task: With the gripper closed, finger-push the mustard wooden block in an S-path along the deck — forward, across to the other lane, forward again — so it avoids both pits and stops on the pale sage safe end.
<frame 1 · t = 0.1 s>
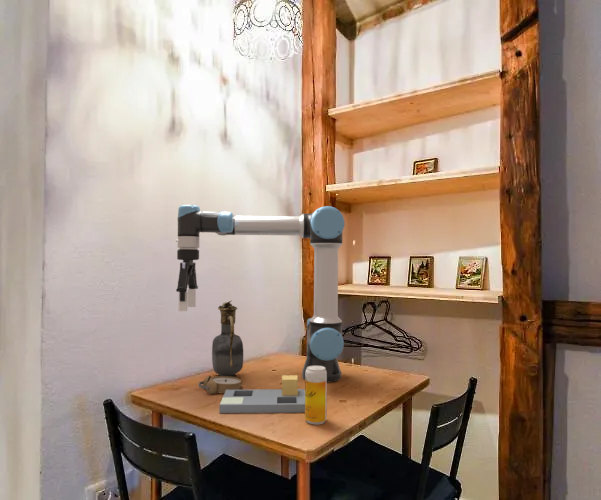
hand: (187, 308, 150), 28 cm above the table, fingers open, 13 cm apart
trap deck: (264, 404, 133), on the table
block: (289, 392, 137), point 2 cm above the table, touching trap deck
beer can: (315, 421, 120), on the table
alarm clock: (220, 391, 148), on the table
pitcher: (227, 379, 161), on the table
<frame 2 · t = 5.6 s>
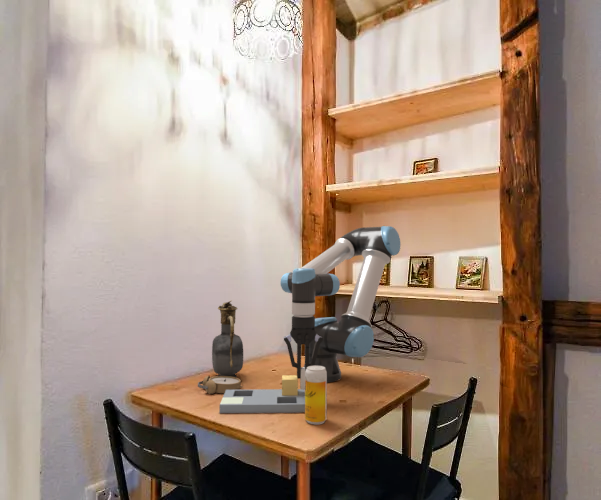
hand: (302, 388, 137), 4 cm above the table, fingers closed
block: (289, 392, 137), point 2 cm above the table, touching gripper
everything else where it was.
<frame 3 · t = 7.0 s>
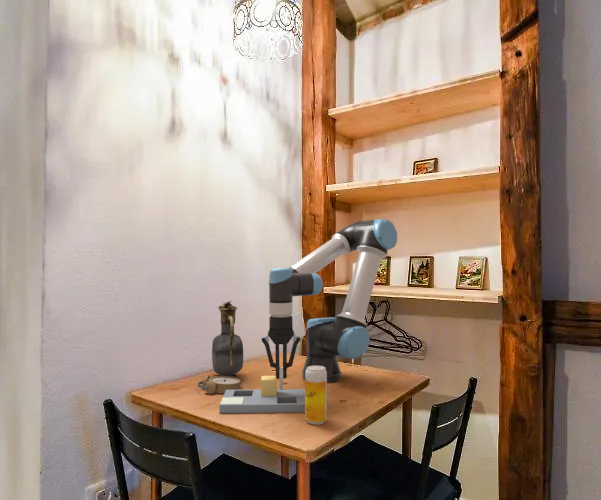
hand: (281, 388, 137), 4 cm above the table, fingers closed
block: (269, 393, 137), point 2 cm above the table, touching gripper, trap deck
everything else where it was.
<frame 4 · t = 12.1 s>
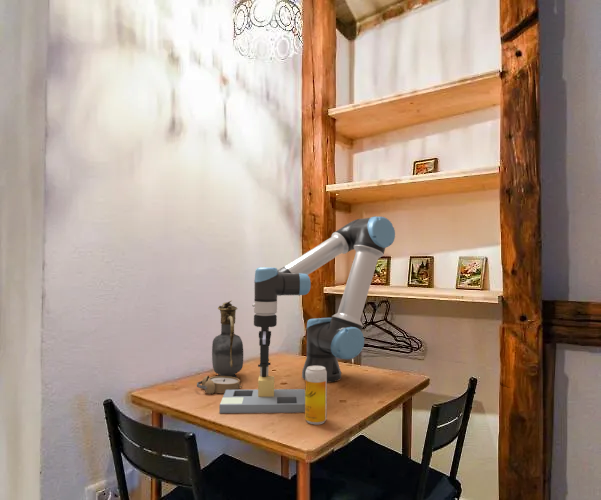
hand: (264, 385, 139), 4 cm above the table, fingers closed
block: (266, 394, 136), point 2 cm above the table, touching gripper, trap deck
everything else where it was.
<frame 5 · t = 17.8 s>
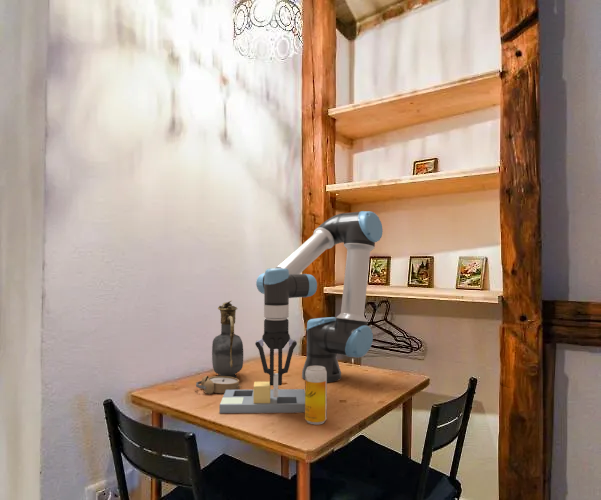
hand: (275, 395, 129), 4 cm above the table, fingers closed
block: (262, 400, 130), point 2 cm above the table, touching gripper
everything else where it was.
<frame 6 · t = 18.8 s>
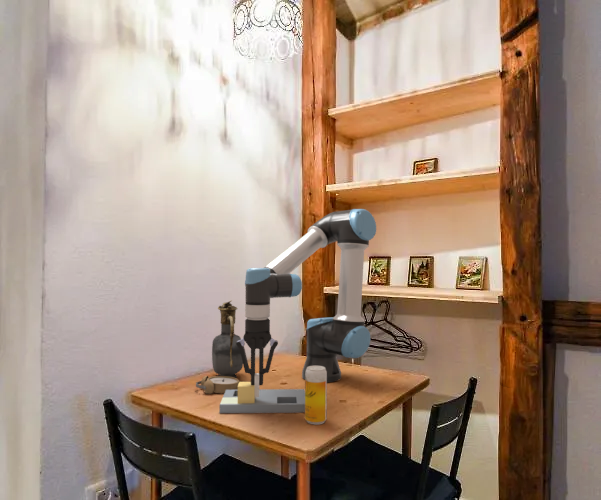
hand: (256, 395, 129), 4 cm above the table, fingers closed
block: (246, 400, 130), point 2 cm above the table, touching gripper, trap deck
everything else where it was.
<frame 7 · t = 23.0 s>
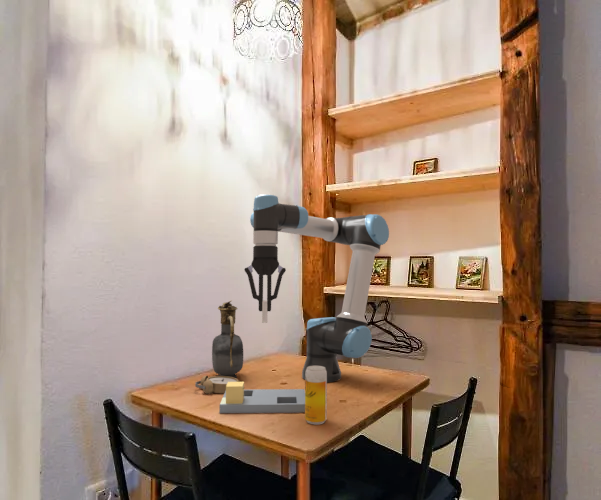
hand: (264, 321, 130), 26 cm above the table, fingers closed
block: (235, 400, 129), point 2 cm above the table, touching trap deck
at the end: block inside the target area (0.7 cm from its centre), point 2.4 cm above the table; block tilted 0° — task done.
